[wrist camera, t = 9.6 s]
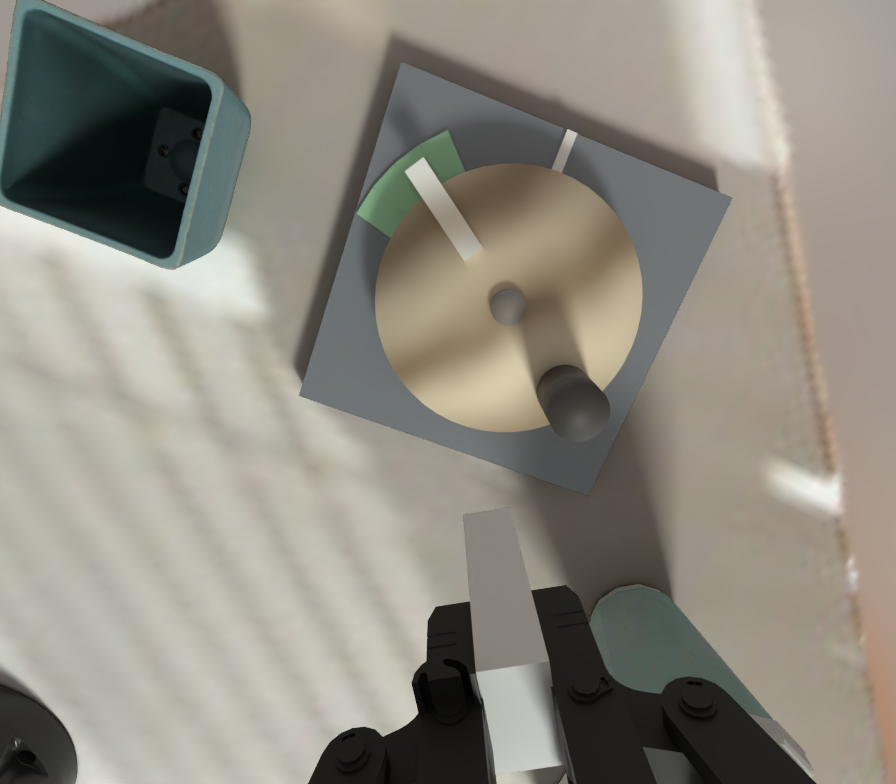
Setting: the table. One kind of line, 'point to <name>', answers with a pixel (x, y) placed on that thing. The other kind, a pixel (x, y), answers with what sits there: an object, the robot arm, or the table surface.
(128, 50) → the flower pot
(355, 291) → the tuner base
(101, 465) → the table surface
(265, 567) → the table surface
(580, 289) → the dial
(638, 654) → the disposable coffee cup
